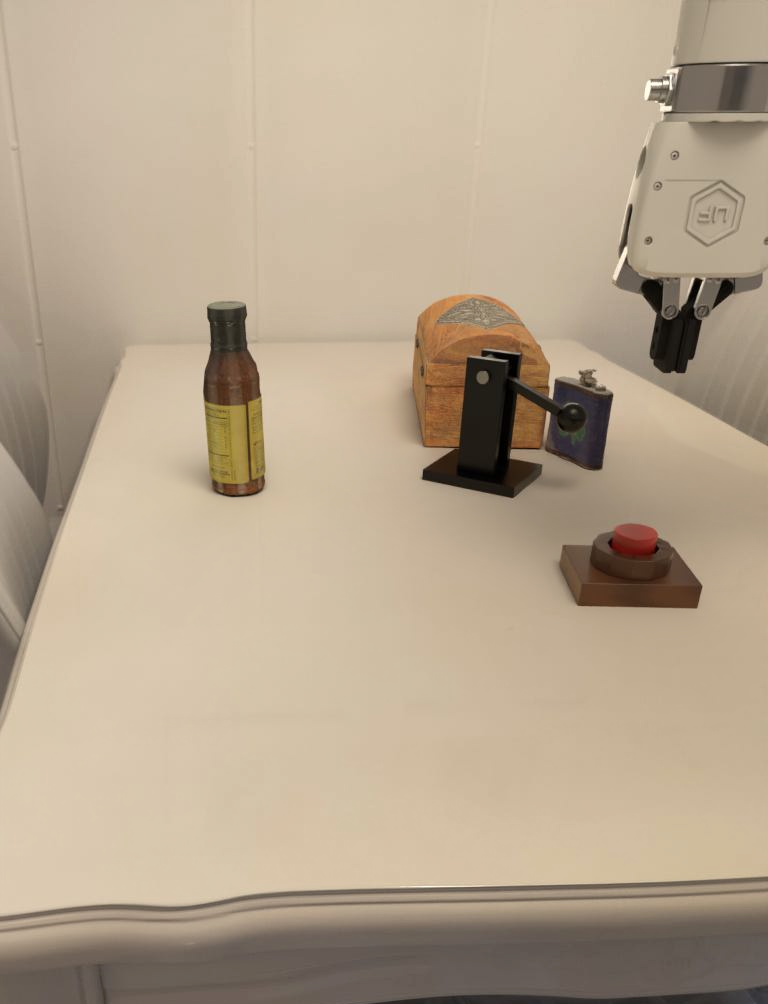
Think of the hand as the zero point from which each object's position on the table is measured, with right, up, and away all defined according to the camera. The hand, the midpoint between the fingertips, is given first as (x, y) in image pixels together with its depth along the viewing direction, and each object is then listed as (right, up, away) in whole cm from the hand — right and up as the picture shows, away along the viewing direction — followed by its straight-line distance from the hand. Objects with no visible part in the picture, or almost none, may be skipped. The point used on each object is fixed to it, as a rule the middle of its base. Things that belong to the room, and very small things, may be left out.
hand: (668, 368), depth 72 cm
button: (0, -13, +8) cm, 15 cm away
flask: (+5, +1, +40) cm, 40 cm away
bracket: (-7, -2, +34) cm, 35 cm away
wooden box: (-4, +10, +56) cm, 57 cm away
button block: (0, -17, +10) cm, 19 cm away
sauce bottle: (-36, -4, +31) cm, 48 cm away
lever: (-4, +4, +28) cm, 28 cm away
